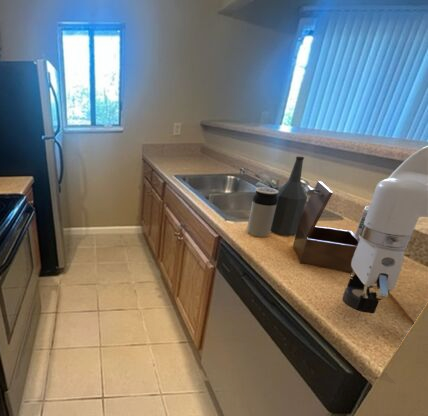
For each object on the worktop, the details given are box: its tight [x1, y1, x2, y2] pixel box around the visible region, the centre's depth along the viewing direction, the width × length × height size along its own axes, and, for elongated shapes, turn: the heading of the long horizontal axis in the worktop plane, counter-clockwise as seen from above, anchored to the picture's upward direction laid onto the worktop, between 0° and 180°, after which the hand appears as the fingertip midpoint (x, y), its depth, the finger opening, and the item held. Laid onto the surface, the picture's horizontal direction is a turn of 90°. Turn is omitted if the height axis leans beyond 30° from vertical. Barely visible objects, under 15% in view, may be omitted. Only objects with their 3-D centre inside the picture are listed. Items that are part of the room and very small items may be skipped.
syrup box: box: [354, 205, 370, 240], centre depth 95 cm, size 6×6×14 cm
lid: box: [298, 180, 334, 238], centre depth 87 cm, size 15×13×5 cm
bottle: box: [270, 155, 308, 237], centre depth 105 cm, size 10×10×30 cm
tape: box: [341, 286, 371, 314], centre depth 66 cm, size 6×6×3 cm
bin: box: [292, 225, 360, 274], centre depth 89 cm, size 15×13×9 cm
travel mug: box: [246, 186, 279, 238], centre depth 105 cm, size 8×8×18 cm
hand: (359, 301), depth 66 cm, fingers closed on tape, 6 cm apart
